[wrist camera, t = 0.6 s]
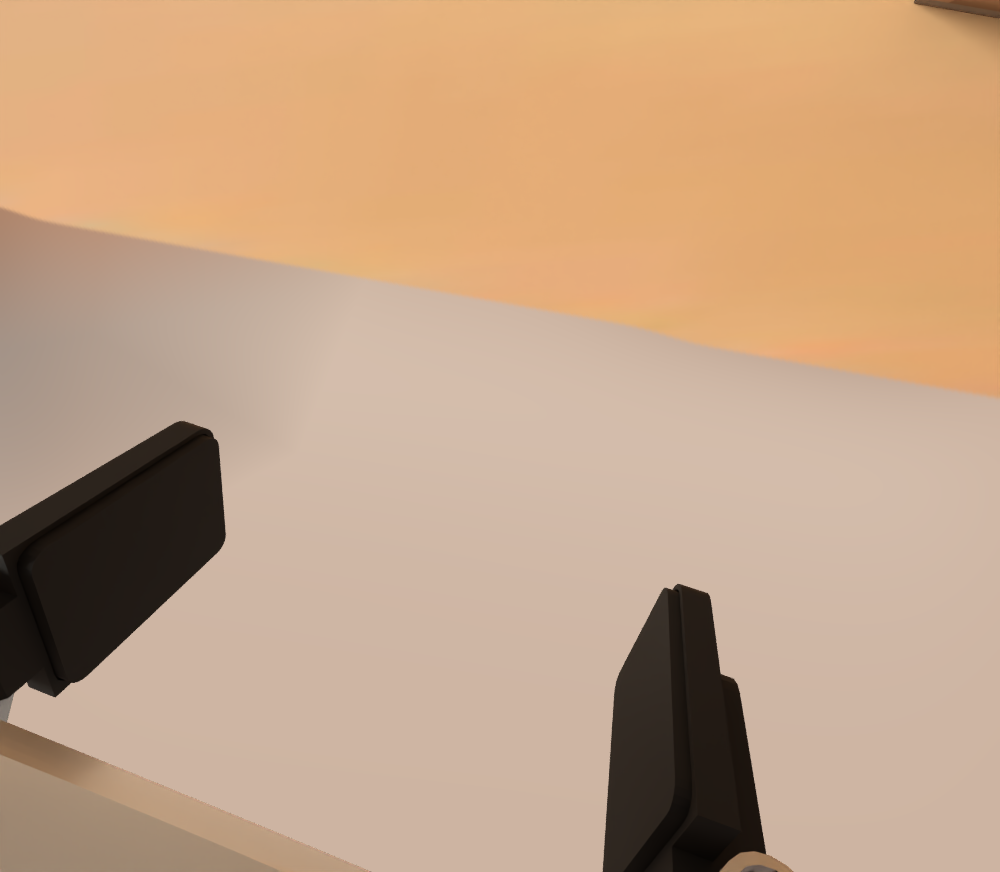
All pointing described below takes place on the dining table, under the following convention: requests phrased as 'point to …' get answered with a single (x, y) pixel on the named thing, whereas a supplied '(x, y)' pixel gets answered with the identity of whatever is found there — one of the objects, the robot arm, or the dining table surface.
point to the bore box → (967, 6)
